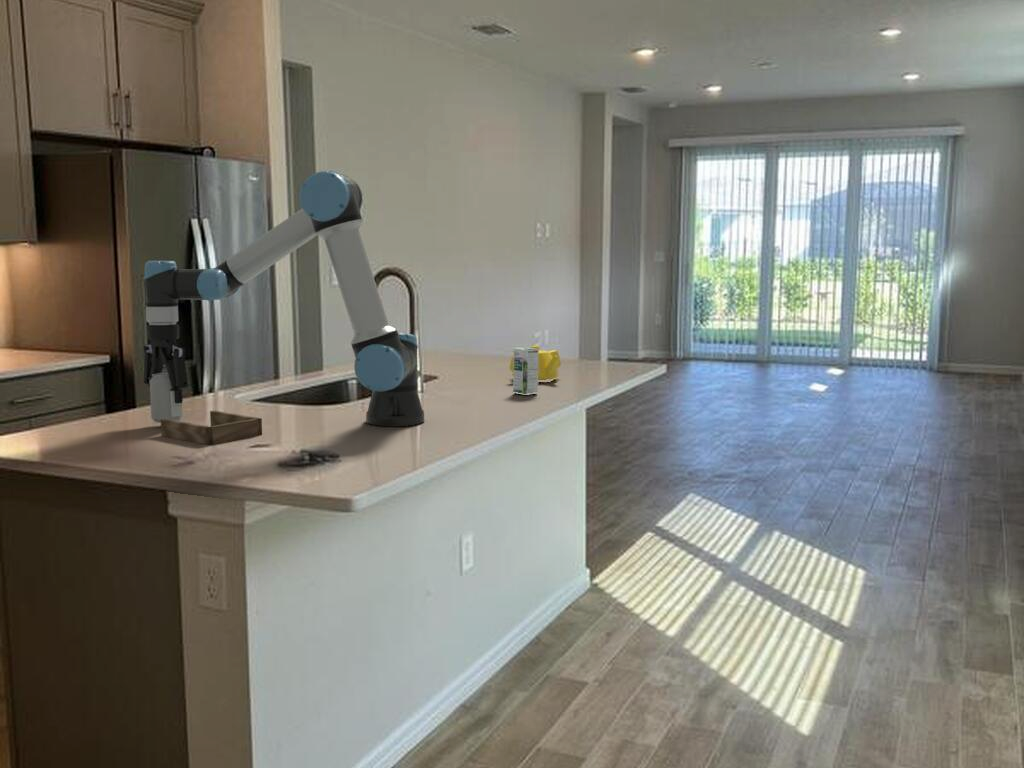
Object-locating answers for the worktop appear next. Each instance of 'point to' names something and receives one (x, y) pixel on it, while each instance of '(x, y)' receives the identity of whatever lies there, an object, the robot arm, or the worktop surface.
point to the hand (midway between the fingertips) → (167, 414)
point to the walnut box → (214, 428)
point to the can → (161, 397)
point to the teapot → (545, 363)
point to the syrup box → (525, 370)
